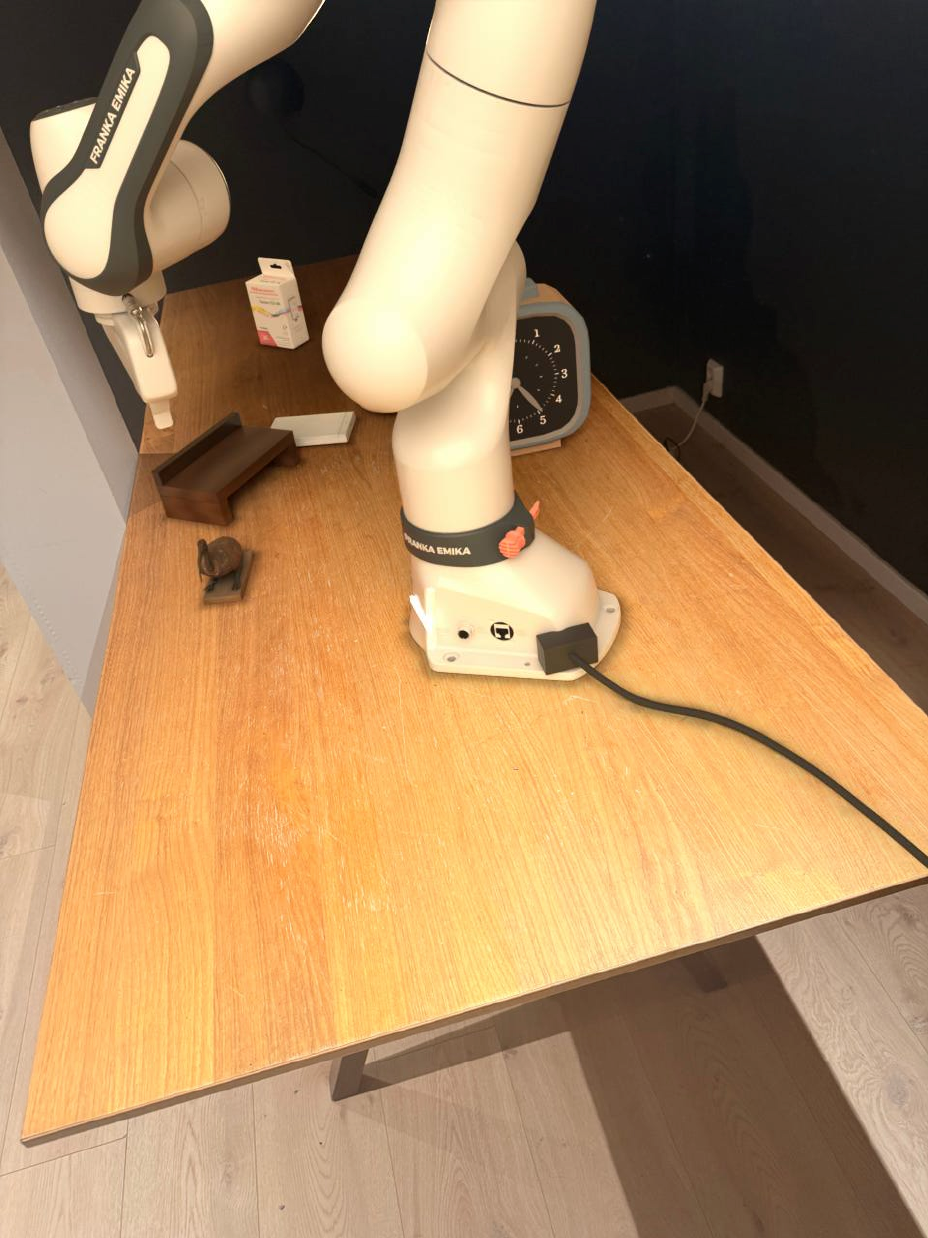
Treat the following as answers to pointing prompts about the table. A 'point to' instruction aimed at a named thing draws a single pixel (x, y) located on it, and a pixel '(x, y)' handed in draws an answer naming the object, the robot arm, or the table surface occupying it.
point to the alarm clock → (548, 371)
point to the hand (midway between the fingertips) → (154, 408)
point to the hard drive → (318, 427)
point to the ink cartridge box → (277, 305)
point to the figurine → (224, 569)
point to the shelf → (219, 468)
